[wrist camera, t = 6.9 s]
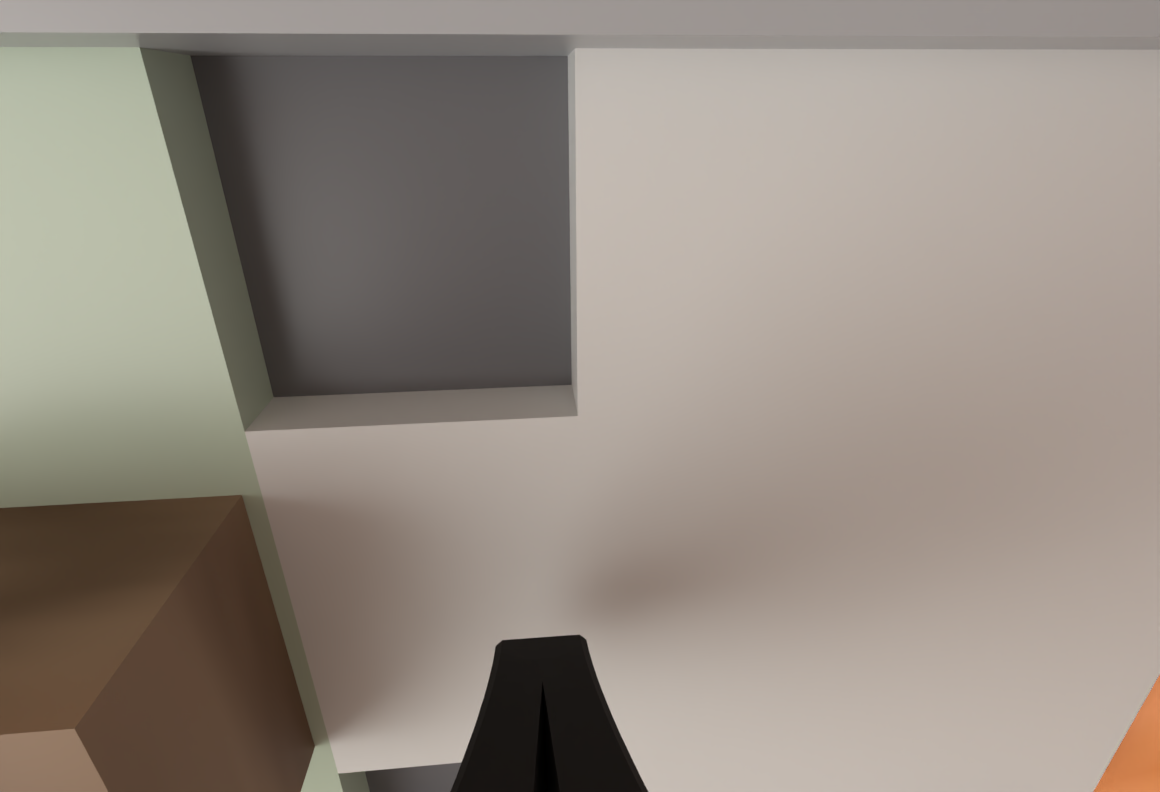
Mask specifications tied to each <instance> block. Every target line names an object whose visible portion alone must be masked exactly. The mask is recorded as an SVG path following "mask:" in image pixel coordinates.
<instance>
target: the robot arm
mask: <svg viewBox="0 0 1160 792" xmlns="http://www.w3.org/2000/svg"><path fill="white" fill-rule="evenodd" d="M450 792H648V790H647V788H646V786H645V784H644V782H643V780H642V778H641V776H640V774H639V772H638V770H637V768H636V766H635V764H634V762H633V760H632V758H631V756H630V753H629V751H628V749H627V747H626V745H625V743H624V741H623V739H622V737H621V734H620V732H619V730H618V728H617V725H616V723H615V721H614V719H613V716H612V714H611V711H610V709H609V707H608V704H607V702H606V699H605V697H604V694H603V692H602V689H601V686H600V683H599V681H598V678H597V675H596V672H595V669H594V666H593V663H592V660H591V656H590V653H589V649H588V645H587V640H586V639H585V638H584V637H582V636H581V635H566V636H552V637H538V638H524V639H510V640H502V641H501V642H500V643H498V644H497V645H496V647H495V653H494V659H493V664H492V668H491V672H490V677H489V681H488V684H487V688H486V692H485V695H484V699H483V702H482V705H481V708H480V711H479V714H478V718H477V721H476V724H475V727H474V730H473V732H472V735H471V738H470V741H469V743H468V746H467V749H466V752H465V754H464V757H463V760H462V763H461V765H460V768H459V771H458V774H457V776H456V779H455V781H454V784H453V786H452V789H451V791H450Z"/></svg>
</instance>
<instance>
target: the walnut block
mask: <svg viewBox="0 0 1160 792" xmlns="http://www.w3.org/2000/svg"><path fill="white" fill-rule="evenodd" d="M314 748H315V745H314V741H313V738H312V734H311V731H310V727H309V724H308V721H307V717H306V714H305V710H304V707H303V703H302V700H301V696H300V693H299V690H298V686H297V683H296V679H295V676H294V672H293V669H292V666H291V662H290V659H289V655H288V652H287V648H286V645H285V641H284V638H283V635H282V631H281V628H280V624H279V621H278V617H277V614H276V610H275V607H274V604H273V600H272V597H271V593H270V590H269V586H268V583H267V579H266V576H265V573H264V569H263V566H262V562H261V559H260V555H259V552H258V549H257V545H256V542H255V538H254V535H253V531H252V528H251V524H250V521H249V518H248V514H247V511H246V507H245V504H244V500H243V497H242V495H231V496H212V497H194V498H175V499H157V500H139V501H120V502H102V503H83V504H65V505H47V506H28V507H10V508H0V792H301V789H302V786H303V783H304V780H305V776H306V773H307V770H308V767H309V764H310V761H311V758H312V754H313V751H314Z"/></svg>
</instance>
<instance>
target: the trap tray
mask: <svg viewBox="0 0 1160 792" xmlns="http://www.w3.org/2000/svg"><path fill="white" fill-rule="evenodd" d="M231 495H242V497H243V500H244V504H245V507H246V511H247V514H248V518H249V521H250V524H251V528H252V531H253V535H254V538H255V542H256V545H257V549H258V552H259V555H260V559H261V562H262V566H263V569H264V573H265V576H266V579H267V583H268V586H269V590H270V593H271V597H272V600H273V604H274V607H275V610H276V614H277V617H278V621H279V624H280V628H281V631H282V635H283V638H284V641H285V645H286V648H287V652H288V655H289V659H290V662H291V666H292V669H293V672H294V676H295V679H296V683H297V686H298V690H299V693H300V696H301V700H302V703H303V707H304V710H305V714H306V717H307V721H308V724H309V727H310V731H311V734H312V738H313V741H314V745H315V748H314V751H313V754H312V758H311V761H310V764H309V767H308V770H307V773H306V776H305V780H304V783H303V786H302V789H301V792H450V791H451V789H452V786H453V784H454V781H455V779H456V776H457V774H458V771H459V768H460V765H461V763H462V760H463V757H464V754H465V752H466V749H467V746H468V743H469V741H470V738H471V735H472V732H473V730H474V727H475V724H476V721H477V718H478V714H479V711H480V708H481V705H482V702H483V699H484V695H485V692H486V688H487V684H488V681H489V677H490V672H491V668H492V664H493V659H494V653H495V647H496V645H497V644H498V643H500V642H501V641H502V640H510V639H524V638H538V637H552V636H566V635H581V636H582V637H584V638H585V639H586V640H587V645H588V649H589V653H590V656H591V660H592V663H593V666H594V669H595V672H596V675H597V678H598V681H599V683H600V686H601V689H602V692H603V694H604V697H605V699H606V702H607V704H608V707H609V709H610V711H611V714H612V716H613V719H614V721H615V723H616V725H617V728H618V730H619V732H620V734H621V737H622V739H623V741H624V743H625V745H626V747H627V749H628V751H629V753H630V756H631V758H632V760H633V762H634V764H635V766H636V768H637V770H638V772H639V774H640V776H641V778H642V780H643V782H644V784H645V786H646V788H647V790H648V792H1093V791H1094V789H1095V788H1096V786H1097V784H1098V782H1099V780H1100V779H1101V777H1102V775H1103V773H1104V772H1105V770H1106V768H1107V766H1108V765H1109V763H1110V761H1111V759H1112V758H1113V756H1114V754H1115V752H1116V751H1117V749H1118V747H1119V745H1120V743H1121V742H1122V740H1123V738H1124V736H1125V735H1126V733H1127V731H1128V729H1129V728H1130V726H1131V724H1132V722H1133V721H1134V719H1135V717H1136V715H1137V713H1138V712H1139V710H1140V708H1141V706H1142V705H1143V703H1144V701H1145V699H1146V698H1147V696H1148V694H1149V692H1150V691H1151V689H1152V687H1153V685H1154V683H1155V682H1156V680H1157V678H1158V676H1159V675H1160V0H0V508H10V507H28V506H47V505H65V504H83V503H102V502H120V501H139V500H157V499H175V498H194V497H212V496H231Z"/></svg>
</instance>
